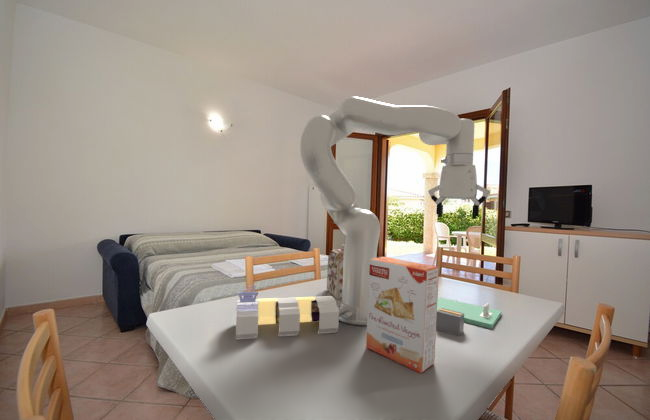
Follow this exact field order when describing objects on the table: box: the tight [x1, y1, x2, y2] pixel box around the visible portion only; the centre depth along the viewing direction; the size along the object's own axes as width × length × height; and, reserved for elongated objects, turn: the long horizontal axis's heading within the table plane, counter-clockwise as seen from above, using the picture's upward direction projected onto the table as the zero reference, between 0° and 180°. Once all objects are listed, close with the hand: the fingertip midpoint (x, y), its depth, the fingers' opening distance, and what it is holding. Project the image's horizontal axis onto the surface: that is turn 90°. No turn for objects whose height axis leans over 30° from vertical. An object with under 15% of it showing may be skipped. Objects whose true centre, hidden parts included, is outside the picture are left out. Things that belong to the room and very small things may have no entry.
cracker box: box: [365, 256, 440, 374], centre depth 66 cm, size 14×6×21 cm, turn 45°
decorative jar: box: [326, 243, 345, 300], centre depth 111 cm, size 12×12×18 cm
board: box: [437, 297, 502, 330], centre depth 95 cm, size 15×19×4 cm
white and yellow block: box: [235, 284, 340, 340], centre depth 78 cm, size 25×10×13 cm, turn 105°
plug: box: [436, 308, 465, 337], centre depth 82 cm, size 4×6×5 cm, turn 51°
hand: (456, 217), depth 92 cm, fingers open, 9 cm apart
